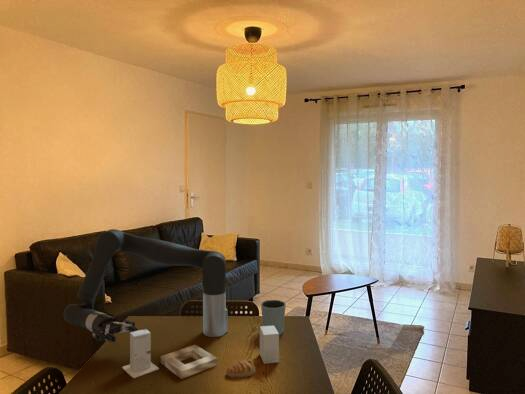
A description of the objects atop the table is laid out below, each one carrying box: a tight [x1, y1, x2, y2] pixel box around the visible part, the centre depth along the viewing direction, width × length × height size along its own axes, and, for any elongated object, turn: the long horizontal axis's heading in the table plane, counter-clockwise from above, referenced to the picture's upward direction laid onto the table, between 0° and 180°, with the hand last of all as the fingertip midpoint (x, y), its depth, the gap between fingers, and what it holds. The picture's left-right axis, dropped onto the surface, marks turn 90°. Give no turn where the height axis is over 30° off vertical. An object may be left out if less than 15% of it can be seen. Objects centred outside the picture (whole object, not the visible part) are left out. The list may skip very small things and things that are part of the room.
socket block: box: [160, 344, 218, 380], centre depth 141 cm, size 14×14×2 cm
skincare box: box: [129, 328, 152, 372], centre depth 138 cm, size 6×4×12 cm
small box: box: [259, 325, 280, 365], centre depth 146 cm, size 8×6×10 cm
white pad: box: [121, 361, 160, 379], centre depth 138 cm, size 9×9×1 cm
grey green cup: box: [260, 299, 287, 336], centre depth 169 cm, size 10×10×12 cm
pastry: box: [225, 359, 256, 379], centre depth 136 cm, size 9×7×4 cm
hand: (125, 335), depth 142 cm, fingers open, 8 cm apart
